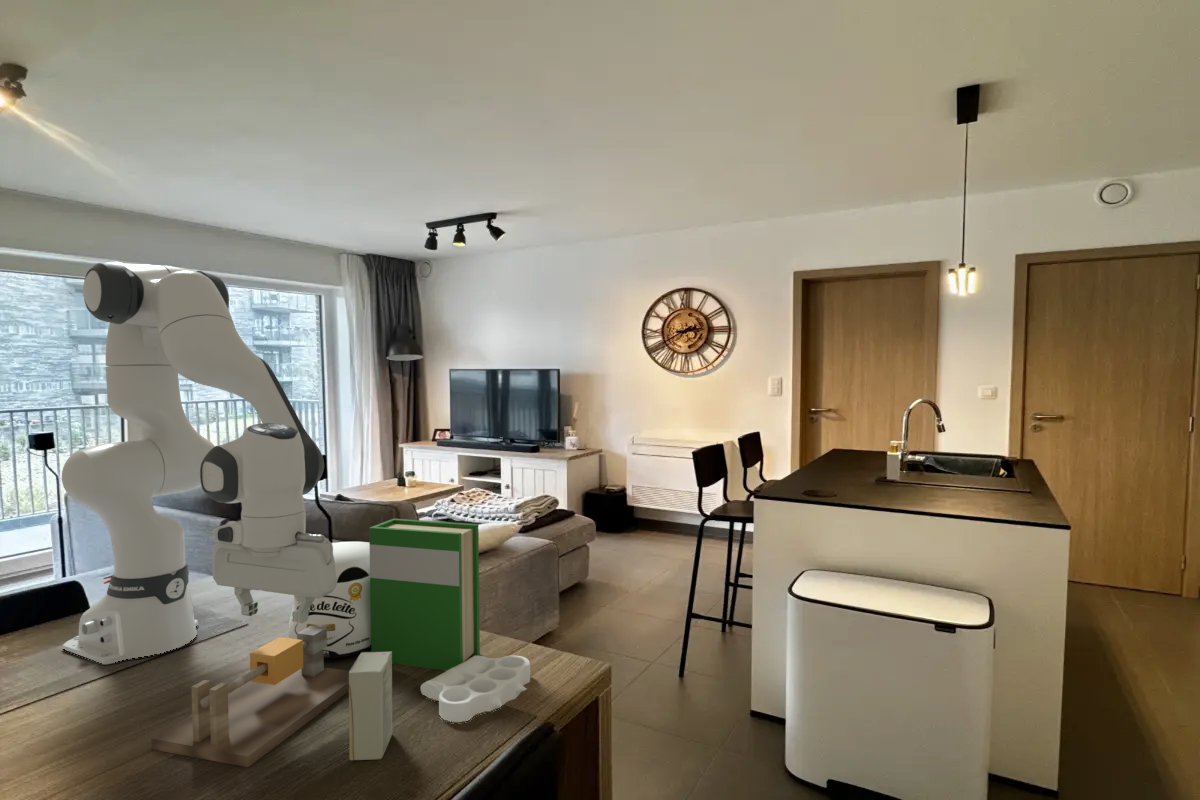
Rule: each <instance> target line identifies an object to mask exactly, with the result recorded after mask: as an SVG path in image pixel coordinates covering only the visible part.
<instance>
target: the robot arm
mask: <svg viewBox="0 0 1200 800" xmlns="http://www.w3.org/2000/svg"><path fill="white" fill-rule="evenodd" d="M82 286H83V287H82V295H83V298H84V305H85V307H86V309H87V311H88V312H89V313H90V314H91V315H92V316H93V318H95V319H97V320H100V321H102V322H106V323H109V325H108V329H107V334H106V335H107V336H106V344H105V375H106V377H105V379H106V396H107V397H106V398H107V399H106V400H107V405H108V407H109V408H110V410H111V411H112V412H113V413H114V414H115V415H116V416H119V417H120V418H122V419H124V420H127V421H129V422H132V423H134V424H136V426H137V427H138V428H139V431H140V433H141V436H142V440H141V439H140V440H127V441H119V442H106V443H101V444H97V445H93V446H90V447H86V448H82V449H79V450H75V451H74V452H73V453H72V454H71V455H69V457H68V458H67V459H66V461H65V463H64V465H63V466H62V471H61V483H62V486H63V489H64V490H65V493H67V495H68V496H69V497H70V498H71V499H72V500H74V501H76V503H79V504H81V505H82V506H85V507H87V508H88V509H90V510H92V512H94V513H95V514H96V515H98V517H99V518H100V519H101V520H102V521H103V523H104V524H105V526H106V528H107V530H108V533H109V537H110V540H111V547H112V548H111V549H112V554H113V556H112V557H113V559H112V560H113V570H114V571H113V572H114V573H113V574H111V575H107V576H106V577H103V580H105V581H104V582H103V583H102V584H108V586H107V590H106V594H105V595H104V596H103V597H102V598H101V599H100V600H98V601H97V602H95V604H93V605H92V606H91V607H90V608H89V609H87V610H85V612H83V614H82V615H81V617H80V619H79V623H78V624H79V625H78V635H76V636H74V637H72V638H71V639H69V640H67V641H65V642H64V643H63V644H62V649H65V650H67V651H71V652H74V653H76V654H79V655H81V656H84V657H87V658H89V659H92V660H94V661H96V662H95V663H97V662H99V663H98V664H100V663H102V664H101V665H110V664H115V662H116V663H119V662H118V661H120V662H122V660H124V661H127V660H126V659H128V660H133V659H132V658H135V659H139V658H138V657H142V658H145V657H144V656H148V657H151V656H150V655H153V656H155V655H154V654H157V655H160V653H161V654H164V652H165V653H167V652H166V651H168V652H171V651H174V650H177V649H179V648H182V647H184V646H185V644H186V645H187V644H190V643H191V642H192V641H193V639H194V638H195V637H196V638H197V636H198V631H197V628H196V626H197V625H198V626H199V620H198V619H196V618H195V614H194V608H193V601H192V595H191V594H192V593H191V589H190V588H189V587H188V584H189V581H190V580H189V579H190V578H189V575H190V571H189V567H188V564H187V563H186V549H185V548H186V547H185V545H186V544H185V543H186V542H185V541H186V540H185V539H186V538H185V530H184V527H183V526H182V524H181V523H180V522H179V521H178V520H177V519H176V518H173V517H170V516H167V515H164V514H161V513H157V511H156V510H155V509H156V508H154V502H153V498H155V497H162V496H167V495H173V494H175V495H176V494H180V493H186V492H190V491H192V490H195V489H196V490H197V489H199V488H201V489H202V491H203V492H204V494H205V495H207V496H208V497H209V498H210V499H212V500H214V501H216V502H218V503H221V504H223V503H224V504H239V503H241V505H242V507H241V512H240V519H237V520H235V521H233V522H229V523H226V524H223V525H219V526H218V527H215V528H213V530H212V537H213V538H212V539H213V540H214V541H215V544H214V546H213V548H212V556H211V557H212V559H211V560H212V561H211V568H212V569H211V571H212V572H211V574H212V578H213V580H214V582H215V583H216V585H217V586H220V587H221V586H222V587H229V588H230V587H231V588H234V595H235V596H236V599H237V600H238V603H239V604H240V612H241V616H247V617H252V616H253V615H256V614H257V613H258V610H259V609H258V604H259V603H258V601H254V598H253V596H252V594H251V591H261V592H267V593H268V592H269V593H273V594H274V593H275V594H282V595H288V596H289V595H291V596H294V595H297V596H298V602H301V604H300V606H299V608H298V609H297V610H295V611H293V612H292V611H291V613H292V617H293V619H292V621H293V622H294V623H301V624H302V623H304V622H306V621H307V620H308V609H309V608H310V606H311V605H312V603H313V601H314V599H315V598H321V597H323V596H325V595H327V594H329V593H331V592H332V591H333V590H334V589H335V587H336V585H337V579H336V568H335V561H334V556H333V545H332V543H333V542H331V541H330V540H329V539H328V538H326V536H325V535H323V534H320V533H317V534H316V533H315V534H313V533H309V532H306V528H307V527H306V522H307V521H306V520H307V519H306V518H307V517H306V516H307V515H306V504H305V501H304V495H306V494H309V493H310V492H311V491H312V490H313V489H314V488H315V487H316V485H317V484H319V482H320V479H321V478H322V476H323V473H324V469H325V461H324V456H323V454H322V451H321V450H320V448H319V447H318V445H317V444H316V442H315V441H314V440H313V438H312V437H311V436H310V435H309V434H308V432H307V430H306V429H305V428H304V426H303V424H302V422H301V420H300V419H299V417H298V415H297V413H296V411H295V409H294V407H293V405H292V404H291V401H290V399H289V398H288V396H287V394H286V393H285V390H284V388H283V387H282V385H281V383H280V381H279V379H278V377H277V376H276V374H275V373H274V370H273V369H272V368H271V366H270V365H269V364H268V362H266V361H265V360H264V359H263V358H261V357H259V356H258V355H256V353H255V352H253V350H251V349H250V348H249V346H248V345H247V344H246V343H245V341H244V340H243V339H242V337H241V336H240V334H239V332H238V331H237V329H236V326H235V325H236V324H235V323H234V321H233V317H232V315H231V312H230V311H229V307H230V295H229V291H228V290H229V289H228V288H227V286H226V284H225V282H224V281H223V280H222V279H221V278H220V277H218V276H217V275H214V274H211V273H210V272H205V271H202V270H196V271H195V270H191V269H188V268H187V269H186V268H182V267H177V266H173V265H172V266H171V265H164V264H159V265H154V264H153V265H152V264H142V263H141V264H140V263H123V262H122V261H121V262H120V261H106V262H105V261H104V262H100V263H99V262H98V263H95V264H94V265H93V266H92V267H90V268H89V269H88V271H87V272H86V274H85V277H84V282H83V285H82ZM179 375H180V376H182V377H184V378H185V379H187V380H189V381H191V382H193V383H196V384H199V385H201V386H205V387H206V386H207V387H211V388H215V389H218V390H222V391H225V392H228V393H231V394H233V395H236V396H237V397H240V398H241V399H244V400H245V401H246V402H247V403H248V404H250V405H251V406H252V407H253V409H254V411H255V412H256V413H257V415H258V417H259V419H260V421H261V423H257V424H252V425H249V426H247V427H246V428H245V429H244V431H243V433H242V435H241V436H240V437H238V438H236V439H234V440H231V441H228V442H227V443H222V444H220V445H219V444H218V445H215V444H213V442H211V440H209V439H207V438H206V437H205V436H203V435H201V434H200V433H199V432H198V431H196V429H195V428H194V427H193V425H192V424H191V422H190V421H189V419H188V418H187V415H186V413H185V410H184V408H183V404H182V398H181V390H180V381H179V380H180V379H179ZM107 579H108V580H107ZM198 626H197V627H198ZM196 635H197V636H196ZM196 638H195V639H196ZM195 639H194V640H195ZM191 640H192V641H191ZM190 641H191V642H190ZM176 648H177V649H176ZM173 649H174V650H173ZM170 650H171V651H170ZM89 659H88V660H89ZM92 660H91V661H92ZM94 661H93V662H94Z"/></svg>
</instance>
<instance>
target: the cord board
mask: <svg viewBox="0 0 1200 800" xmlns="http://www.w3.org/2000/svg"><path fill="white" fill-rule="evenodd" d="M297 639H299V640H303V668H301V669H300V670H298V671H297V672H295V673H293V674H292V675H290V676H289V677H287V678H285V679H284V680H282V681H281V682H279V683H277V684H276V685H271V684H264V683H257V682H251V680H252V679H254V678H256V677H257V676H259V675H261V674H263V673H264V672H266V671H268V663H264V664H262V665H260V666H259V667H257V668H255V669H253V670H252V671H248V672H246V673H244V674H243V675H241V676H239V677H238V678H236V679H234V680H232V681H231V682H229V683H228V682H220V683H218V684H217V685H215V686H213V687H211V680H209V679H208V680H207V679H203V680H201V681H200V682H197V683H196V684H194V685H192V686H191V687H190V688H191V714H190V715H189V716H187V717H186V718H184V719H182V720H180V721H179V722H177V723H175V724H174V725H172V726H170V727H169V728H167V729H165V730H164V731H162V732H160V733H158V734H156V735H154V736H153V737H152V738H151V750H154V751H160V752H164V753H165V752H166V753H170V754H176V755H180V756H186V757H191V758H196V759H201V760H206V761H207V760H208V761H212V762H218V763H221V764H222V763H223V764H228V765H233V766H239V767H242V768H249V767H251V766H252V765H254V764H255V763H256V762H257V761H259V760H260V759H261V758H263V757H265V755H267V754H268V753H270V752H271V751H272V750H273V749H275V748H277V747H278V745H280V744H282V742H284V741H285V740H287V739H288V738H289V737H290V736H292V735H294V734H295V733H296V732H297V731H298V730H300V729H301V728H302V727H304V726H305V725H307V724H308V723H309V722H311V721H312V720H313V719H315V718H316V717H317V716H318V715H319V713H320V714H321V713H322V712H323V710H324V711H325V710H326V709H328V708H329V707H330V706H331V705H333V704H334V703H335V702H337V701H338V700H340V699H341V698H342V697H344V696H345V695H346V694H347V693H349V671H350V670H346V669H345V670H343V669H338V668H337V669H336V668H330V667H324V665H325V664H324V663H325V662H324V661H325V659H324V657H323V649H324V648H325V647H327V628H324V627H315V626H309V627H308V628H306V629H304V630H302V631H300V632H298V633H297Z"/></svg>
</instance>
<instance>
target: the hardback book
mask: <svg viewBox="0 0 1200 800" xmlns="http://www.w3.org/2000/svg"><path fill="white" fill-rule="evenodd" d="M368 530H369V531H368V533H369V536H368V537H369V545H370V602H371V651H370V652H390V651H391V652H392V664H397V665H405V666H411V667H419V668H426V669H433V670H439V671H440V670H442V671H447V670H449V669H451V668H453V667H456V666H457V665H459V664H461V663H463V662H465V661H467V660H468V659H469V658H470V657H471V656H472V657H473V656H475V655H477V656H480V654H481V647H480V645H481V642H480V633H481V632H480V631H481V630H480V561H479V560H480V557H479V556H480V555H479V553H480V550H479V539H480V538H479V524H477V523H466V522H465V523H463V522H451V521H435V520H421V519H420V520H419V519H405V518H404V519H403V518H391V519H388V520H386V521H383V522H381V523H378V524H376V525H373V526H369V528H368Z"/></svg>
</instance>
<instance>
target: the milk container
mask: <svg viewBox="0 0 1200 800" xmlns="http://www.w3.org/2000/svg"><path fill="white" fill-rule="evenodd" d="M331 543H332V545H333V556H334V561H335V568H336V579H337V585H336V587H335V589H334V590H333V591H332V592H331V593H329V594H327V595H325V596H323V597H321V598H315V599H314V601H313V603H312V605H311V606H310V608H309V609H308V620H307V621H306V622H304V623H302V624H301V623H294V622H293V621H292V619H293V617H292V612H293V611H295V610H297V609H298V608H299V606H300V604H301V602H298V596H297V595H293V603H292V604H293V605H292V610H291V613H290V618H289V622H288V636H289V637H288V638H291V639H297V633H298V632H300V631H302V630H304V629H306V628H308V627H309V626H315V627H324V628H327V647H325V648H324V649H323V657H324V660H325V659H326V660H327V659H338V658H344V657H345V658H346V657H350V656H352V655H356V654H359V653H360V654H361V653H362V652H366V650H369V649H370V648H371V602H370V545H369V542H368V541H367V542H366V541H340V542H339V541H337V542H331Z"/></svg>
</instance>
